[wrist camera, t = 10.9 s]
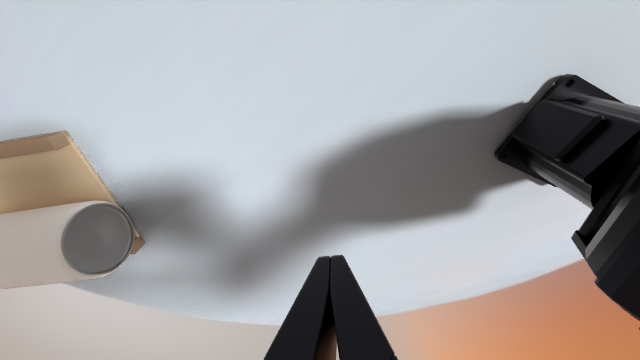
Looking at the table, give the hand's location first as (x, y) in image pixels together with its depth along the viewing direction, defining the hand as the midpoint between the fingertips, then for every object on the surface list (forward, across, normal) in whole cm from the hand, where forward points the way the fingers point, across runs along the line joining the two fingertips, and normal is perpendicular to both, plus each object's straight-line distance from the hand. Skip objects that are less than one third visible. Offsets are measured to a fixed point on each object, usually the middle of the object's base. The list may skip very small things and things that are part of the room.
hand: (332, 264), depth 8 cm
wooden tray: (+12, +27, +2) cm, 30 cm away
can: (+9, +20, +5) cm, 22 cm away
